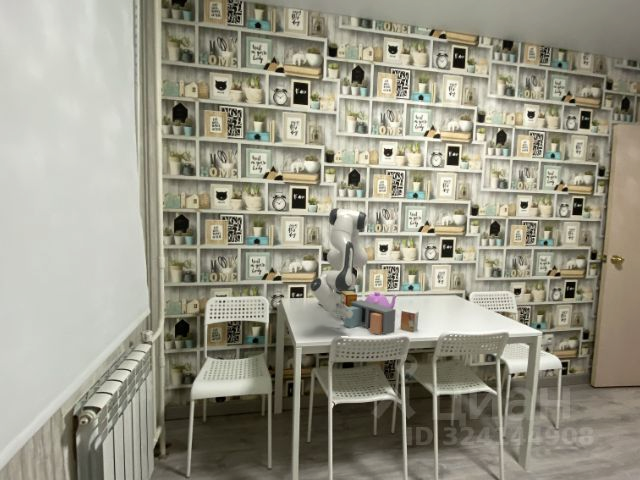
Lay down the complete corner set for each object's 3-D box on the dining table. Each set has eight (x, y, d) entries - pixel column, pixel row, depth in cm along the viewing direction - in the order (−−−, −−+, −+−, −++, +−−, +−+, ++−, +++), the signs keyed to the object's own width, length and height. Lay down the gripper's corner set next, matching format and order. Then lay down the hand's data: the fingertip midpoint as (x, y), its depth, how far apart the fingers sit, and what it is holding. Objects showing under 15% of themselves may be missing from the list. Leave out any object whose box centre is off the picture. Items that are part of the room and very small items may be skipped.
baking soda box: (340, 316, 244) (341, 290, 242) (350, 316, 245) (351, 290, 244) (345, 321, 234) (346, 294, 233) (355, 321, 236) (357, 293, 234)
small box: (400, 329, 223) (401, 310, 222) (403, 327, 228) (404, 308, 227) (414, 332, 219) (415, 313, 218) (417, 329, 223) (418, 311, 222)
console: (384, 334, 213) (385, 312, 212) (349, 323, 232) (350, 302, 230) (394, 331, 219) (395, 309, 218) (360, 320, 237) (361, 299, 236)
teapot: (397, 321, 238) (398, 298, 237) (360, 317, 243) (361, 295, 241) (398, 311, 260) (399, 290, 259) (364, 308, 264) (364, 287, 263)
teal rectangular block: (350, 327, 222) (350, 310, 221) (343, 325, 226) (344, 307, 225) (361, 324, 228) (362, 307, 227) (354, 322, 231) (355, 305, 230)
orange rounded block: (377, 334, 212) (378, 315, 211) (369, 331, 216) (370, 313, 215) (388, 331, 218) (389, 313, 217) (380, 328, 222) (381, 310, 221)
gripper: (348, 301, 207) (360, 317, 215) (321, 293, 222) (333, 308, 230) (341, 311, 205) (354, 326, 212) (315, 302, 220) (327, 317, 227)
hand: (343, 317), depth 221 cm, fingers closed
